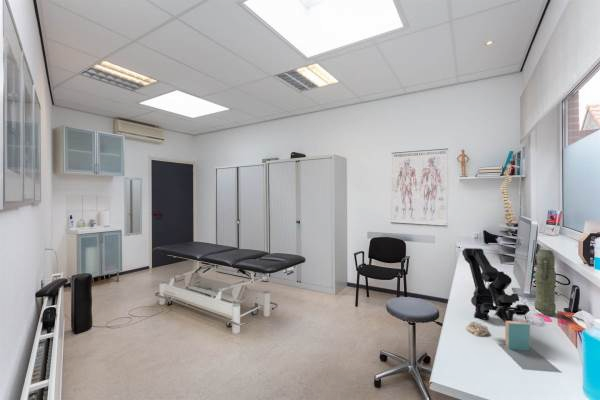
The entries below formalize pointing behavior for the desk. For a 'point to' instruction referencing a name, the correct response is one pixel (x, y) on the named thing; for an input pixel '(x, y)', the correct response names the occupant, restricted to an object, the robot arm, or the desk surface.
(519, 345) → the tile
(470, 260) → the robot arm
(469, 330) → the rock
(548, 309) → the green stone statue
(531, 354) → the mat
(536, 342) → the desk surface
